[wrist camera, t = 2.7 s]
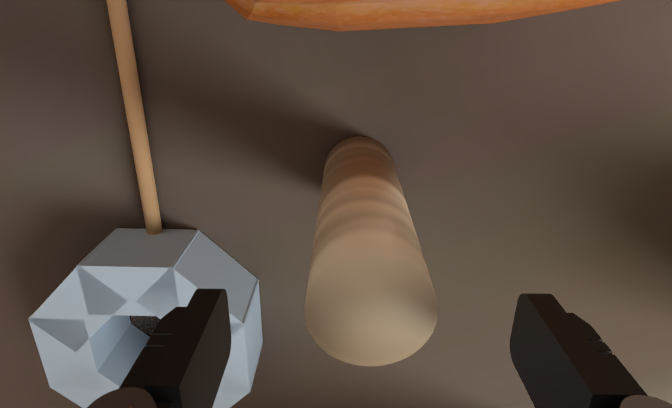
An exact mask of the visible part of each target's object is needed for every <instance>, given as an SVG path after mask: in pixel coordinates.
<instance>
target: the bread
mask: <svg viewBox="0 0 672 408" xmlns="http://www.w3.org/2000/svg"><path fill="white" fill-rule="evenodd" d="M224 1H225V2H227V3H228V4H229V5H230V6H231V7H232V8H234V9H235V10H236V11H237V12H238V13H239V14H241V15H242V16H243V17H244V18H245V19H247V20H253V21H259V22H266V23H272V24H278V25H286V26H295V27H304V28H313V29H323V30H332V31H356V30H375V29H394V28H413V27H432V26H451V25H469V24H488V23H498V22H503V21H509V20H515V19H520V18H526V17H532V16H537V15H543V14H549V13H555V12H560V11H566V10H572V9H577V8H583V7H589V6H594V5H599V4H604V3H609V2H614V1H620V0H224Z"/></svg>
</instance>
